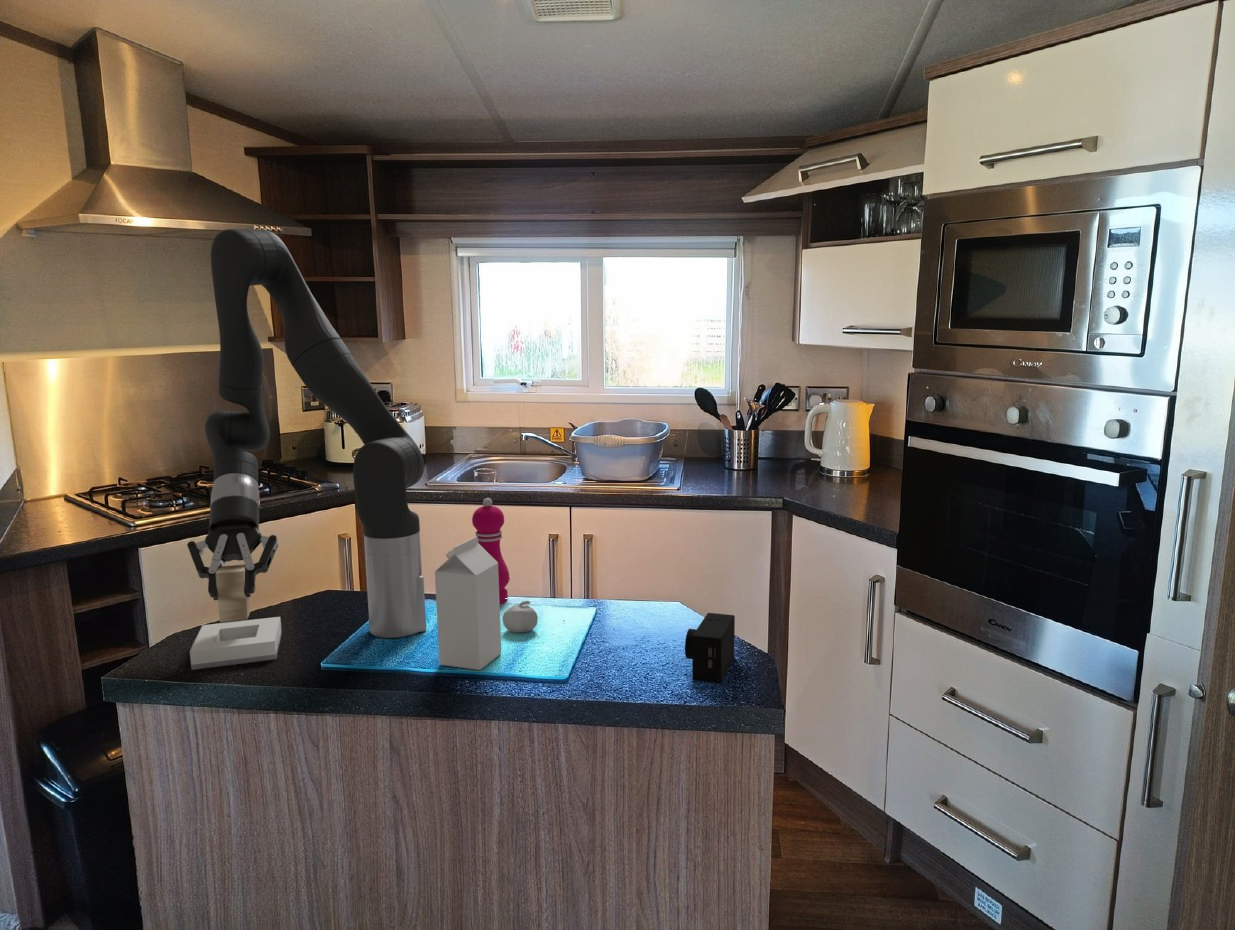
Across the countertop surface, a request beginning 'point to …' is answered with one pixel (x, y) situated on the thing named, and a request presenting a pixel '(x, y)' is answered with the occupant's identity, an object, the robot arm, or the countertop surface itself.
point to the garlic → (520, 618)
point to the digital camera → (711, 647)
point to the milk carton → (468, 607)
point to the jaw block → (232, 593)
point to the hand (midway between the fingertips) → (231, 596)
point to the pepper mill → (492, 540)
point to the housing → (236, 643)
